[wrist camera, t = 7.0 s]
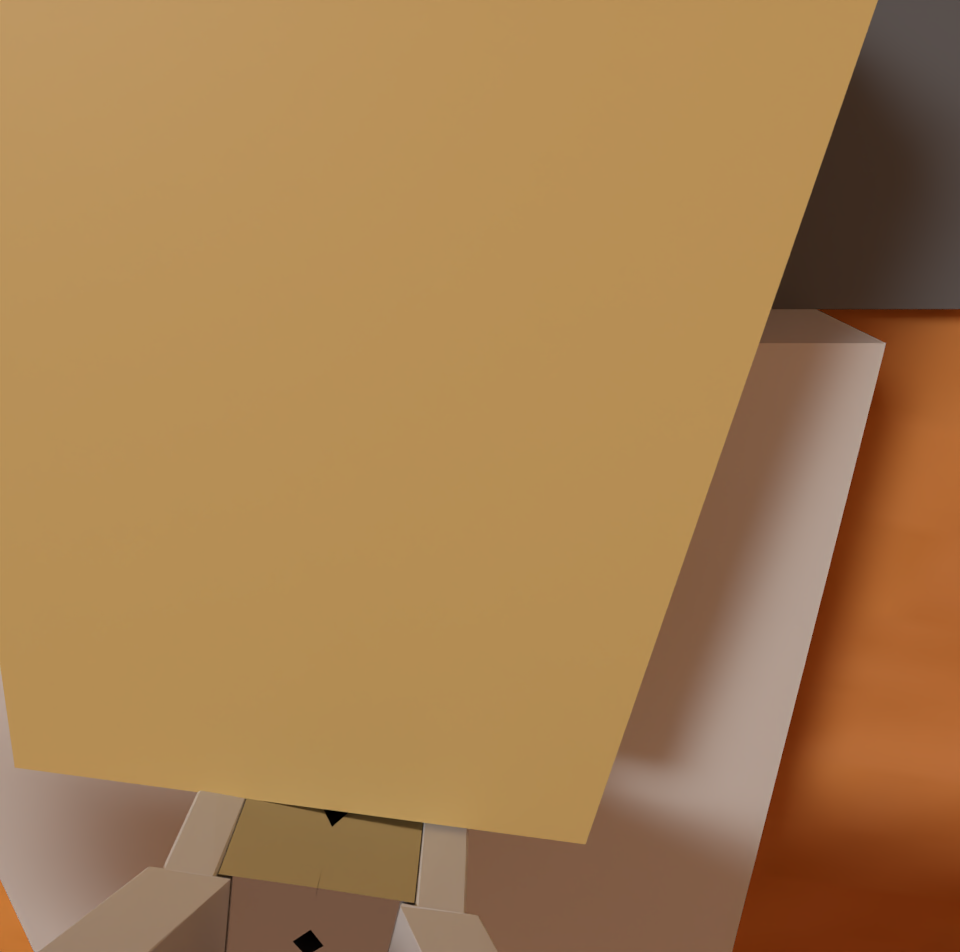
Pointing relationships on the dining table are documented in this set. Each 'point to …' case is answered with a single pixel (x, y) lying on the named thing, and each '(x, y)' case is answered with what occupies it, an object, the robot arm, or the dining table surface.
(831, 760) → the dining table surface
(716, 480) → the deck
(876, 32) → the mat
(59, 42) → the yellow rectangular block
